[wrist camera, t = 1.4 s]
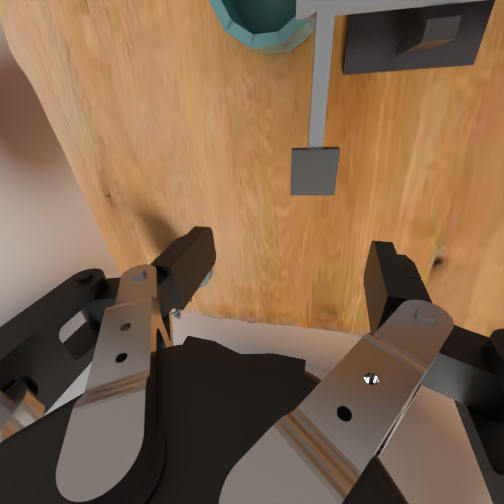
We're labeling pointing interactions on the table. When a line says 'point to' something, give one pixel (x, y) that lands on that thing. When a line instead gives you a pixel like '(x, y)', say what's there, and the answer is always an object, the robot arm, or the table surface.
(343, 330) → the table surface
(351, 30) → the stand
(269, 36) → the cup
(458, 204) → the table surface
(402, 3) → the chute
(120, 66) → the table surface
